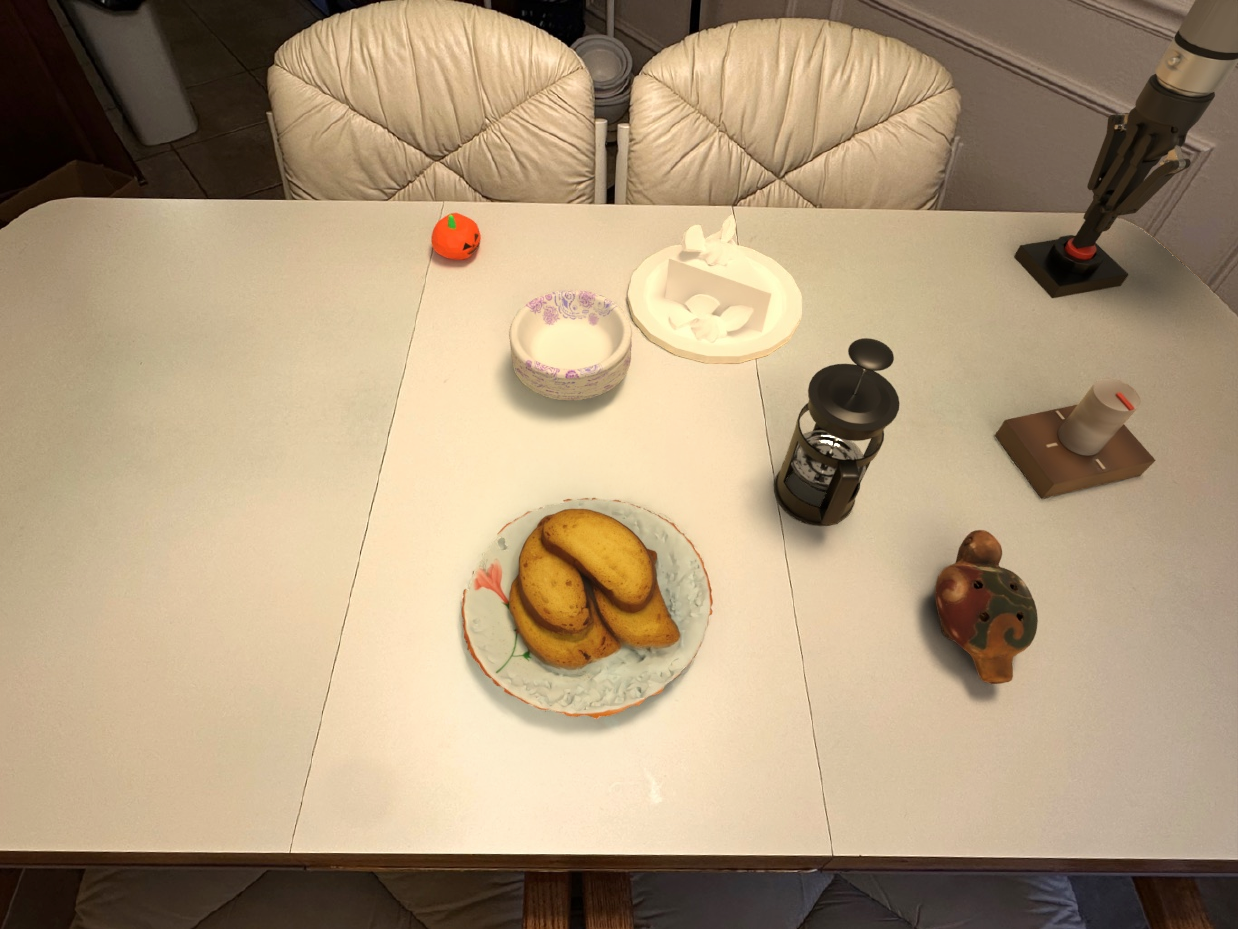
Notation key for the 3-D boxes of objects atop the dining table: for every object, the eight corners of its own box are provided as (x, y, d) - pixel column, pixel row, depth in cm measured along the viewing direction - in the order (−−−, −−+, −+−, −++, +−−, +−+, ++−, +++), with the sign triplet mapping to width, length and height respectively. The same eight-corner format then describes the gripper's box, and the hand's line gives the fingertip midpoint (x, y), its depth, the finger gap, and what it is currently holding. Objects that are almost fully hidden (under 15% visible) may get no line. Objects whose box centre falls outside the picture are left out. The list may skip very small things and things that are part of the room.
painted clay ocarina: (988, 557, 82) (1026, 522, 76) (1032, 694, 74) (1080, 669, 67) (903, 555, 82) (935, 521, 75) (938, 694, 73) (977, 669, 67)
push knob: (1078, 247, 113) (1085, 235, 111) (1094, 263, 110) (1102, 252, 109) (1055, 250, 112) (1062, 239, 110) (1071, 267, 110) (1079, 255, 108)
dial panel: (1089, 414, 96) (1102, 398, 93) (1141, 475, 90) (1156, 459, 87) (994, 435, 93) (1005, 418, 91) (1041, 498, 87) (1054, 483, 85)
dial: (1049, 427, 90) (1085, 380, 83) (1084, 420, 91) (1122, 372, 84) (1074, 459, 87) (1113, 413, 81) (1110, 451, 88) (1152, 404, 82)
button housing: (1079, 245, 117) (1093, 224, 114) (1120, 286, 111) (1136, 264, 108) (1013, 256, 115) (1025, 234, 112) (1052, 298, 109) (1065, 276, 106)
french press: (768, 455, 90) (812, 310, 72) (845, 456, 90) (909, 312, 72) (781, 538, 83) (833, 401, 65) (864, 539, 83) (940, 403, 65)
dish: (592, 294, 107) (592, 227, 98) (714, 228, 117) (724, 162, 108) (713, 391, 96) (725, 326, 87) (836, 309, 107) (858, 243, 98)
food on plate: (435, 703, 71) (422, 677, 66) (498, 493, 86) (492, 458, 81) (699, 744, 69) (708, 721, 64) (717, 522, 84) (725, 488, 79)
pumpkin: (483, 234, 115) (478, 198, 110) (480, 267, 110) (475, 231, 105) (436, 235, 115) (429, 198, 109) (431, 268, 110) (423, 231, 105)
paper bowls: (531, 429, 92) (526, 385, 85) (502, 347, 100) (496, 301, 94) (646, 401, 95) (650, 357, 89) (609, 324, 104) (610, 278, 97)
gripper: (1123, 60, 94) (1034, 221, 112) (1197, 112, 86) (1088, 275, 105) (1173, 54, 95) (1076, 214, 114) (1249, 105, 87) (1132, 268, 106)
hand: (1082, 244), depth 109 cm, fingers closed
